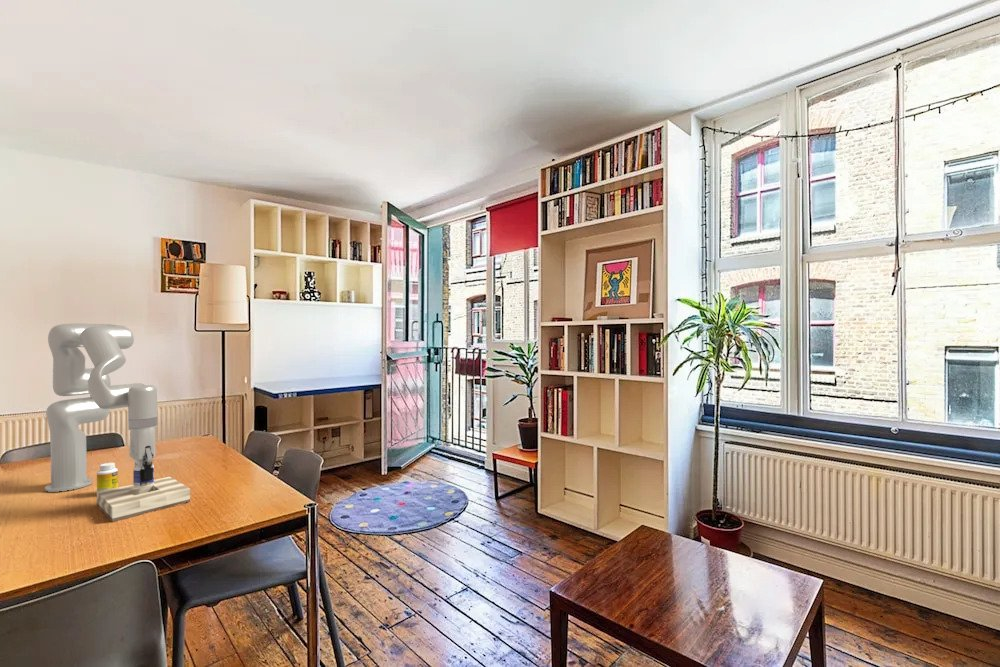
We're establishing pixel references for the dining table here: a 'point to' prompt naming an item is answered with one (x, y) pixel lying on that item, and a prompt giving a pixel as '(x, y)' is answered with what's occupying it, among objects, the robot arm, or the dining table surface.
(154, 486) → the socket block
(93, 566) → the dining table surface
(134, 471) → the pill bottle
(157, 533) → the dining table surface
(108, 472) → the supplement bottle
